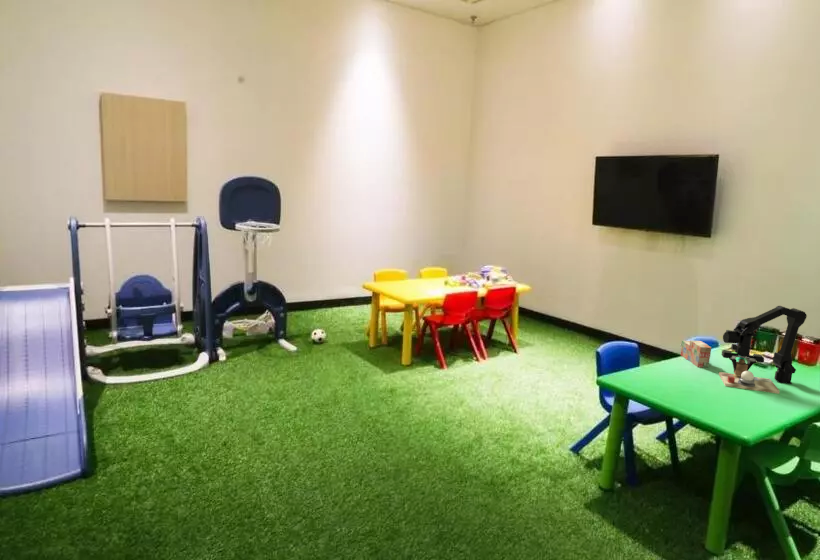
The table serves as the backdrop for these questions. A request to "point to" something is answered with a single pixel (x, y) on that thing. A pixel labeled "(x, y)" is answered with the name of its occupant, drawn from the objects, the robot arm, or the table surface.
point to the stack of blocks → (696, 352)
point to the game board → (758, 385)
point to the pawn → (740, 367)
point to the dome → (747, 377)
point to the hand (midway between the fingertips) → (740, 371)
